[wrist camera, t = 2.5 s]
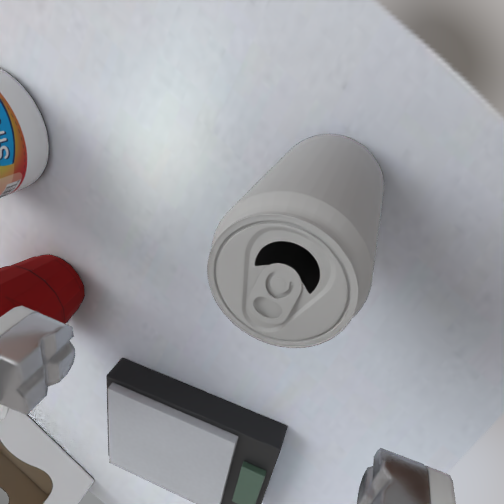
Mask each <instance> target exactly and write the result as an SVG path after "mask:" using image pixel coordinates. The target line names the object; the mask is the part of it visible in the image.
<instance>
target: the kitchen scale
mask: <svg viewBox="0 0 504 504" xmlns="http://www.w3.org/2000/svg"><path fill="white" fill-rule="evenodd" d="M107 412H108V452H109V463H111V464H113V465H115V466H118V467H120V468H122V469H124V470H126V471H128V472H130V473H132V474H134V475H136V476H139V477H141V478H143V479H145V480H147V481H149V482H151V483H153V484H155V485H157V486H160V487H162V488H164V489H166V490H168V491H170V492H172V493H174V494H176V495H179V496H181V497H183V498H185V499H187V500H189V501H191V502H193V503H195V504H261V502H262V500H263V497H264V494H265V491H266V489H267V486H268V483H269V480H270V477H271V475H272V472H273V469H274V466H275V464H276V461H277V458H278V455H279V453H280V450H281V446H282V443H283V440H284V437H285V433H286V430H287V426H286V425H283V424H281V423H278V422H276V421H274V420H271V419H269V418H266V417H264V416H261V415H259V414H257V413H254V412H252V411H249V410H247V409H245V408H242V407H240V406H237V405H235V404H232V403H230V402H228V401H225V400H223V399H220V398H218V397H216V396H213V395H211V394H208V393H206V392H204V391H201V390H199V389H196V388H194V387H191V386H189V385H187V384H184V383H182V382H179V381H177V380H175V379H172V378H170V377H167V376H165V375H162V374H160V373H158V372H155V371H153V370H150V369H148V368H146V367H143V366H141V365H138V364H136V363H134V362H131V361H129V360H126V359H124V358H122V359H121V360H120V361H119V362H118V363H117V364H116V366H115V367H114V368H113V369H112V370H111V371H110V372H109V373H108V375H107Z"/></svg>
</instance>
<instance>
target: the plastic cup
mask: <svg viewBox="0 0 504 504" xmlns="http://www.w3.org/2000/svg"><path fill="white" fill-rule="evenodd" d="M84 296H85V293H84V285H83V283H82V281H81V279H80V277H79V275H78V274H77V272H76V271H75V270H74V269H73V268H72V266H71V265H70V264H68V263H67V262H65V261H64V260H62V259H61V258H59V257H56V256H53V255H50V254H49V255H41V256H37V257H32V258H29V259H27V260H24V261H22V262H19V263H16V264H14V265H11V266H5V267H2V268H0V317H1V316H3V315H4V314H5V313H7V312H8V311H10V310H11V309H13V308H14V307H18V306H24V307H26V308H29V309H31V310H34V311H36V312H39V313H41V314H43V315H46V316H48V317H50V318H53V319H55V320H57V321H60V322H62V323H64V324H66V322H67V321H68V320H69V319H70V318H71V317H72V315H73V314H74V313H75V312H76V311H77V310H78V308H79V306H80V304H81V303H82V301H83V298H84ZM8 410H9V408H8V407H6V406H3V405H1V404H0V420H1V419H3V418H5V417H6V415H7V413H8Z"/></svg>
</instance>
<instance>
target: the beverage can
mask: <svg viewBox="0 0 504 504" xmlns="http://www.w3.org/2000/svg"><path fill="white" fill-rule="evenodd" d="M383 195H384V180H383V175H382V171H381V168H380V166H379V164H378V162H377V161H376V159H375V158H374V156H373V155H372V154H371V152H370V151H369V150H368V149H367V148H366V147H364V146H363V145H362V144H360V143H359V142H357V141H355V140H353V139H351V138H348V137H345V136H342V135H336V134H322V135H316V136H312V137H310V138H307V139H305V140H303V141H301V142H299V143H298V144H296V145H295V146H294V147H293V148H292V149H290V150H289V151H288V152H287V153H286V154H285V155H284V156H283V157H282V158H281V159H280V160H279V161H278V162H277V163H276V164H275V165H274V166H273V167H272V168H271V169H270V170H269V171H268V172H267V173H266V174H265V175H264V176H263V177H262V178H261V179H260V180H259V181H258V182H257V183H256V184H255V185H254V186H253V187H252V188H251V189H250V190H249V191H248V192H247V193H246V194H245V195H244V196H243V197H242V198H241V199H240V200H239V201H238V202H237V203H236V204H235V205H234V206H233V207H232V208H231V209H230V210H229V211H228V212H227V213H226V215H225V216H224V217H223V218H222V220H221V221H220V223H219V225H218V227H217V229H216V231H215V234H214V238H213V243H212V249H211V251H210V254H209V259H208V266H207V274H208V281H209V286H210V289H211V292H212V294H213V297H214V299H215V301H216V303H217V304H218V306H219V307H220V309H221V310H222V312H223V313H224V314H225V315H226V316H227V318H228V319H229V320H230V321H231V322H232V323H233V324H234V325H236V326H237V327H238V328H239V329H241V330H242V331H243V332H245V333H247V334H248V335H250V336H252V337H254V338H256V339H258V340H260V341H262V342H265V343H268V344H271V345H275V346H280V347H287V348H304V347H311V346H315V345H318V344H321V343H324V342H326V341H328V340H330V339H332V338H333V337H335V336H336V335H338V334H339V333H340V332H341V331H342V330H343V329H344V328H345V327H346V326H347V325H348V324H349V322H350V321H351V319H352V318H353V317H354V316H355V315H356V314H357V313H358V312H359V311H360V309H361V308H362V307H363V305H364V303H365V301H366V300H367V297H368V295H369V292H370V288H371V284H372V277H373V270H374V262H375V255H376V247H377V240H378V232H379V225H380V217H381V210H382V202H383Z"/></svg>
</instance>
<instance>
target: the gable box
mask: <svg viewBox="0 0 504 504" xmlns="http://www.w3.org/2000/svg"><path fill="white" fill-rule="evenodd" d="M93 483H94V479H93V478H92V477H91V476H90V475H89V474H88V473H87V472H86V471H85V470H84V469H83V468H82V467H80V466H79V465H78V464H77V463H76V462H75V461H74V460H73V459H72V458H71V457H70V456H69V455H68V454H67V453H66V452H65V451H64V450H63V449H62V448H61V447H60V446H59V445H58V444H57V443H56V442H54V441H53V440H52V439H51V438H50V437H49V436H48V435H47V434H46V433H45V432H44V431H43V430H42V429H41V428H40V427H39V426H38V425H37V424H36V423H35V422H34V421H33V420H32V419H31V418H30V417H28V416H27V415H25V414H23V413H20V412H18V411H15V410H13V409H11V408H9V410H8V413H7V415H6V417H5V418H3V419H1V420H0V488H2V489H3V490H4V491H5V492H6V493H7V494H8V497H9V504H79V503H80V501H81V500H82V498H83V497H84V495H85V494H86V492H87V491H88V490H89V488H90V487H91V485H92V484H93Z"/></svg>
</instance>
